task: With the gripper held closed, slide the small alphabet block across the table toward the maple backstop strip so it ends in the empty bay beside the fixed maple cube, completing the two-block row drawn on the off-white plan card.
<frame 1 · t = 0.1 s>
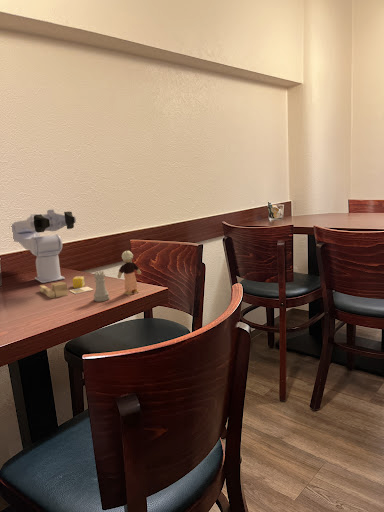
hand: (61, 221, 123), 22 cm above the table, tool horizontal, fingers open, 7 cm apart
rook chess piece: (101, 300, 114), on the table
alphabet block: (79, 287, 131), on the table
plan card: (81, 290, 125), on the table
maple cube: (60, 294, 121), on the table
grandmother figurine: (130, 293, 119), on the table
backstop: (47, 294, 123), on the table
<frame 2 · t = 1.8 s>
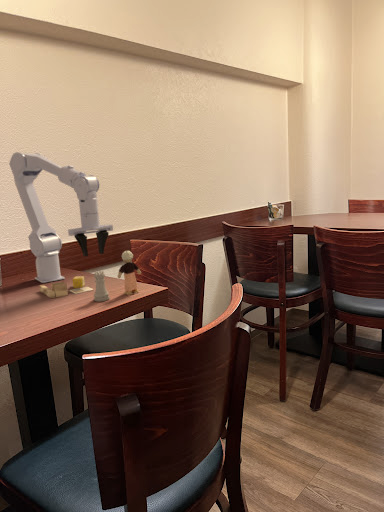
hand: (93, 254, 133), 9 cm above the table, tool pointing down, fingers open, 5 cm apart
nothing on the table moved.
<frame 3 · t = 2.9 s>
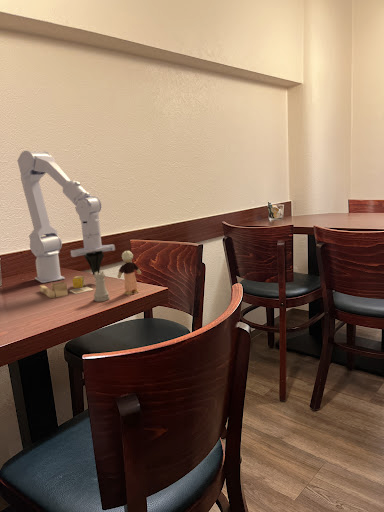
hand: (96, 274, 134), 3 cm above the table, tool pointing down, fingers closed
nothing on the table moved.
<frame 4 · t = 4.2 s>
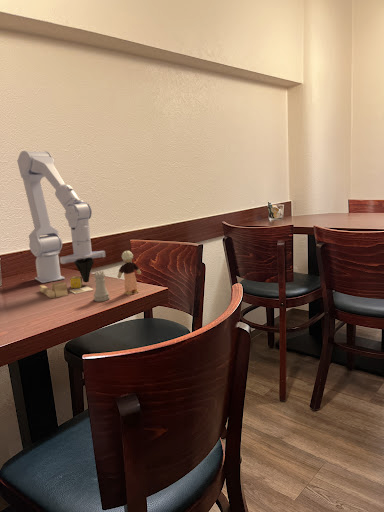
hand: (85, 281, 132), 1 cm above the table, tool pointing down, fingers closed
alphabet block: (77, 287, 130), on the table, touching gripper
everything else where it was.
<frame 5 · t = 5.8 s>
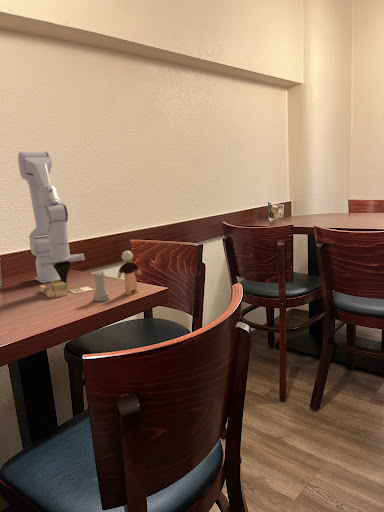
hand: (64, 285, 128), 1 cm above the table, tool pointing down, fingers closed
alphabet block: (57, 291, 126), on the table, touching gripper
everything else where it was.
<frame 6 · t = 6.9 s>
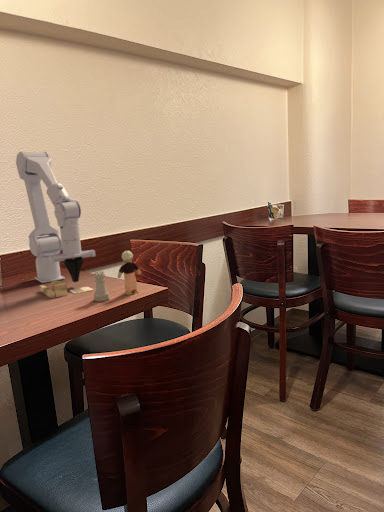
hand: (75, 281, 130), 2 cm above the table, tool pointing down, fingers closed
alphabet block: (57, 292, 126), on the table
everything else where it was.
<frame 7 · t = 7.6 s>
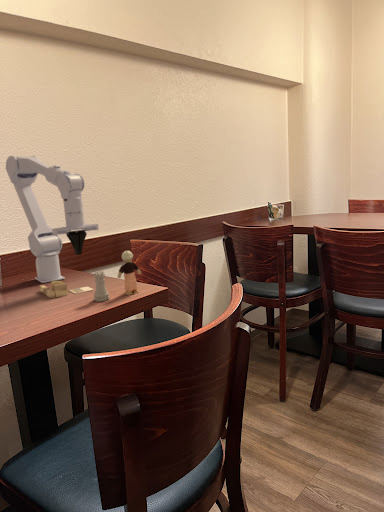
hand: (78, 254, 131), 10 cm above the table, tool pointing down, fingers closed
nothing on the table moved.
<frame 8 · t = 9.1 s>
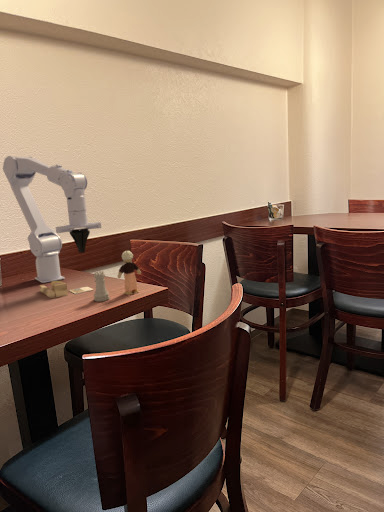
hand: (81, 252, 133), 10 cm above the table, tool pointing down, fingers closed
nothing on the table moved.
at the end: alphabet block 0.8 cm from the target spot, on the table; alphabet block moved 7.4 cm from its start; alphabet block tilted 0° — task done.
